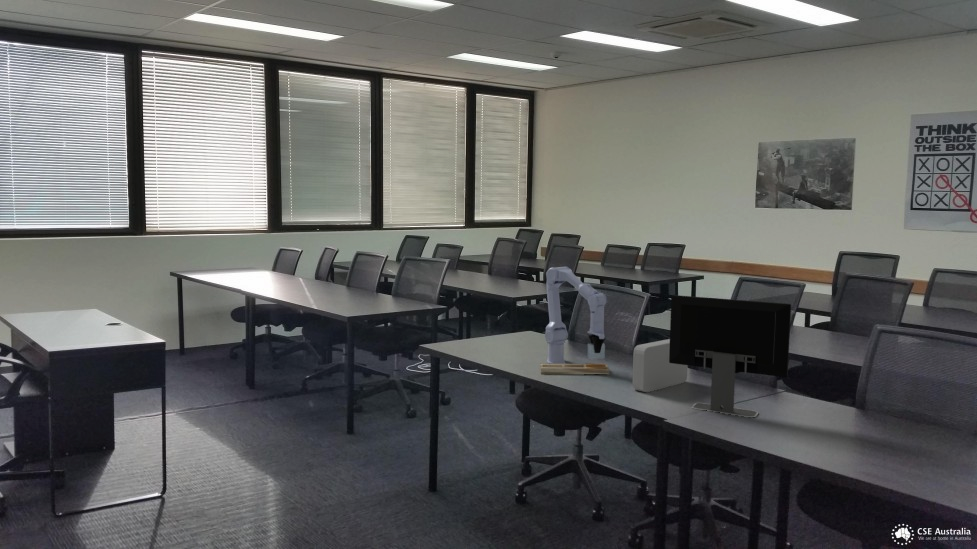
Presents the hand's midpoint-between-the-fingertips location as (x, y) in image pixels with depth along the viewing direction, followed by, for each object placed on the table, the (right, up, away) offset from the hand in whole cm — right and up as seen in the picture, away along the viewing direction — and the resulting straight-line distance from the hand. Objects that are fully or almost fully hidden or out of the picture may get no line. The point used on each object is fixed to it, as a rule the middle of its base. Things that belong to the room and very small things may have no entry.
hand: (596, 352), depth 317 cm
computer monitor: (+38, -15, -55) cm, 68 cm away
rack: (-9, -9, +1) cm, 13 cm away
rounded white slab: (+23, -12, -22) cm, 34 cm away
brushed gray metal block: (0, -3, 0) cm, 3 cm away
